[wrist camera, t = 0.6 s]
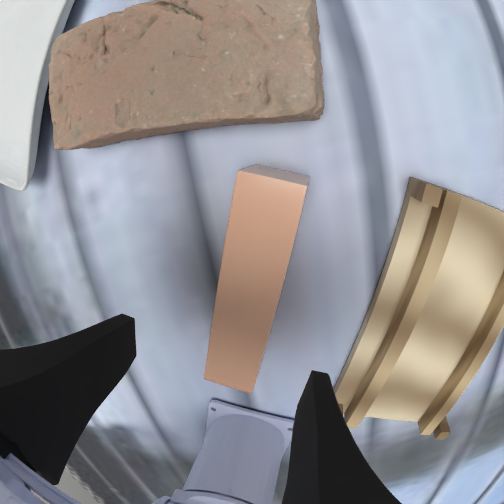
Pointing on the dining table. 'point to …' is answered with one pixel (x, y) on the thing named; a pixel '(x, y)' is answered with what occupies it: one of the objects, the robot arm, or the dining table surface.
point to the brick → (185, 70)
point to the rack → (428, 312)
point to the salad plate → (25, 80)
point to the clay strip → (253, 271)
